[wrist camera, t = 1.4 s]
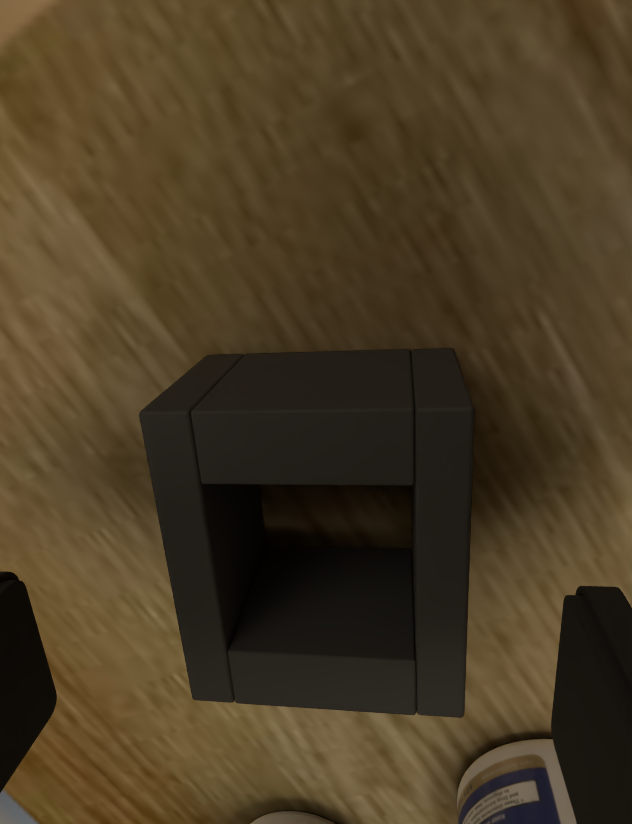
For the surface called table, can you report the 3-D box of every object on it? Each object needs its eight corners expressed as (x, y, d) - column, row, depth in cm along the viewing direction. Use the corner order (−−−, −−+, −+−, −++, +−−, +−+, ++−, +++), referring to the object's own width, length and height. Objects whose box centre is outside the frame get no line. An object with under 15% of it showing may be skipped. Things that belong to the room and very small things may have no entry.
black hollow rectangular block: (205, 354, 14) (136, 412, 10) (454, 346, 13) (475, 407, 9) (238, 587, 17) (191, 701, 13) (449, 594, 16) (464, 719, 12)
